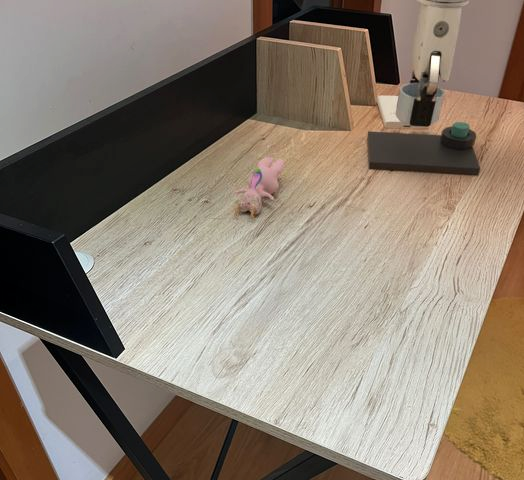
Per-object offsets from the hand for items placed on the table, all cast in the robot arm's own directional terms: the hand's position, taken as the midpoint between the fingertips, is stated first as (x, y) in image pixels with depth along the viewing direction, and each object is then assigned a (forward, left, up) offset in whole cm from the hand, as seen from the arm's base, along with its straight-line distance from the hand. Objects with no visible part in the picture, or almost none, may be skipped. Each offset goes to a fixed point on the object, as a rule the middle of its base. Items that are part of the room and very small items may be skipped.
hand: (417, 114), depth 92 cm
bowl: (0, 0, -1) cm, 1 cm away
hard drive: (0, -19, -8) cm, 21 cm away
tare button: (-9, -6, -5) cm, 12 cm away
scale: (-2, -2, -8) cm, 8 cm away
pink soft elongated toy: (+24, +15, -8) cm, 29 cm away
